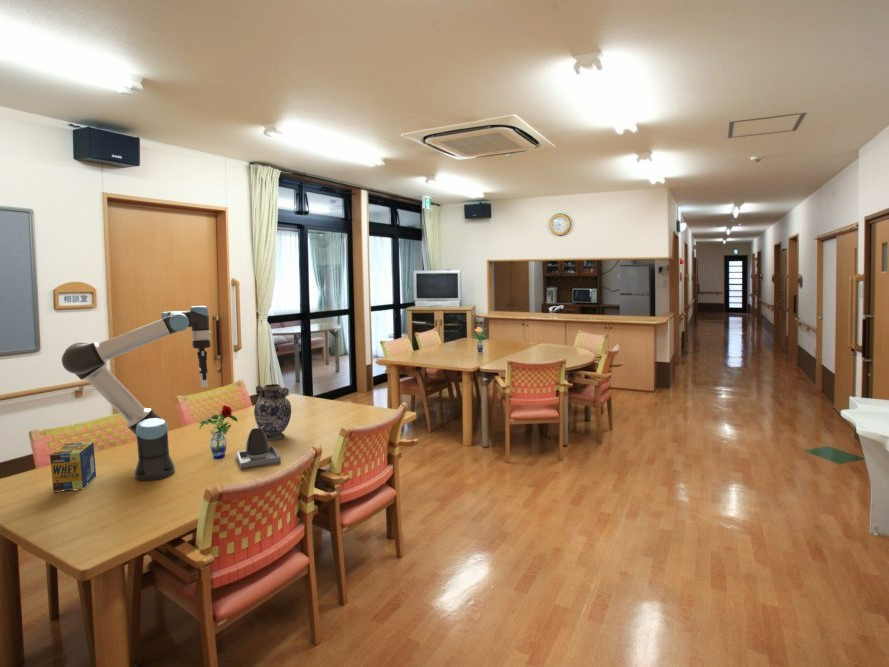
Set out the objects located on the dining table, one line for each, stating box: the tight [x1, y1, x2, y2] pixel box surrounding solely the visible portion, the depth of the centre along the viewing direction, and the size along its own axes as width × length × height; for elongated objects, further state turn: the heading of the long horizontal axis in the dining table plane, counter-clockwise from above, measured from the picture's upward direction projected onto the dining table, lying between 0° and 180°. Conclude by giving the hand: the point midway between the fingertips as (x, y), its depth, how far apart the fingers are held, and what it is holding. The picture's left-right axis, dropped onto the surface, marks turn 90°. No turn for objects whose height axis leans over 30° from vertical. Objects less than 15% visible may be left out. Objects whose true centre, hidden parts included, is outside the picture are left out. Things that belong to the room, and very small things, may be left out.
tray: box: [235, 445, 281, 471], centre depth 243 cm, size 17×17×3 cm
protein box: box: [49, 441, 97, 491], centre depth 217 cm, size 10×15×16 cm
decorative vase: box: [253, 383, 292, 441], centre depth 276 cm, size 21×19×28 cm
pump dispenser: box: [245, 426, 270, 460], centre depth 242 cm, size 10×10×15 cm
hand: (204, 384), depth 247 cm, fingers open, 13 cm apart
